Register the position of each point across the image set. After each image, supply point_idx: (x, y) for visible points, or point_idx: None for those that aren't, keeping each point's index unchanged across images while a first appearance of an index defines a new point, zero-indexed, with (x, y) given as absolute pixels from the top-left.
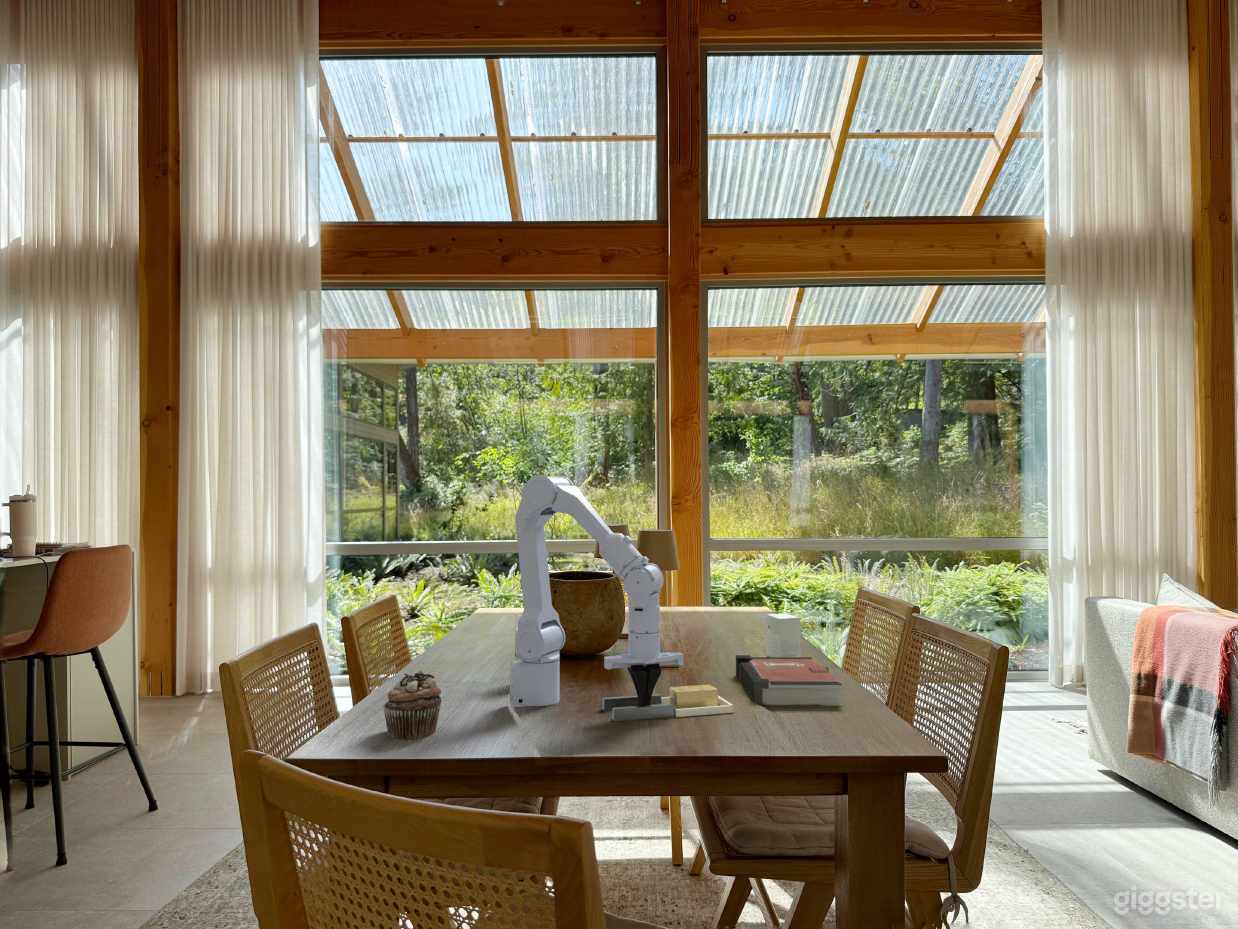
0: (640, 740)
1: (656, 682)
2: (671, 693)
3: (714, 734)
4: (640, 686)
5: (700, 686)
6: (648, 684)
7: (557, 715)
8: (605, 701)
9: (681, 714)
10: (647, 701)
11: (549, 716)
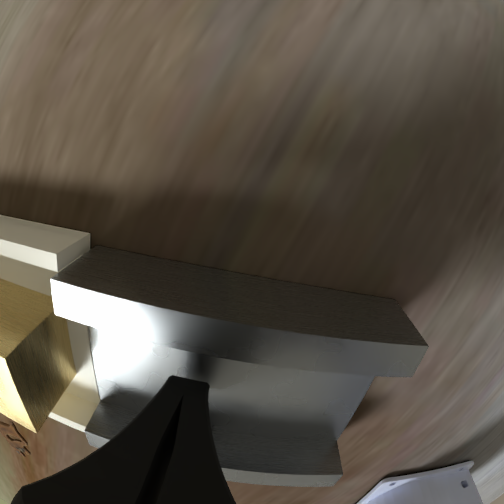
0: (393, 49)
1: (79, 461)
2: (39, 401)
3: (45, 21)
4: (213, 480)
5: None
6: (145, 473)
7: (429, 447)
8: (335, 468)
9: (49, 239)
10: (174, 397)
11: (448, 442)
